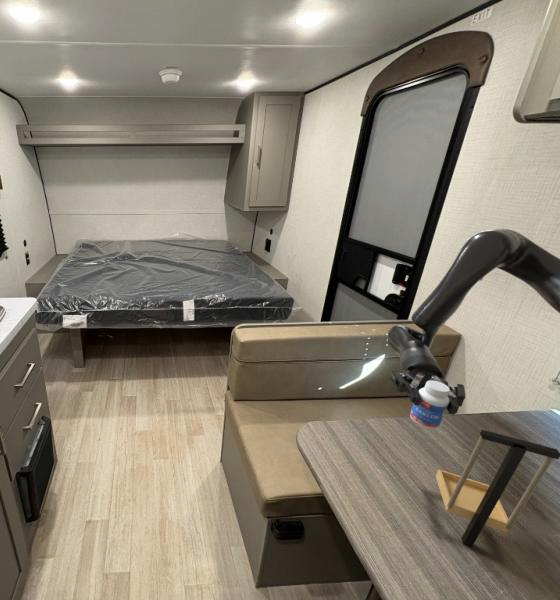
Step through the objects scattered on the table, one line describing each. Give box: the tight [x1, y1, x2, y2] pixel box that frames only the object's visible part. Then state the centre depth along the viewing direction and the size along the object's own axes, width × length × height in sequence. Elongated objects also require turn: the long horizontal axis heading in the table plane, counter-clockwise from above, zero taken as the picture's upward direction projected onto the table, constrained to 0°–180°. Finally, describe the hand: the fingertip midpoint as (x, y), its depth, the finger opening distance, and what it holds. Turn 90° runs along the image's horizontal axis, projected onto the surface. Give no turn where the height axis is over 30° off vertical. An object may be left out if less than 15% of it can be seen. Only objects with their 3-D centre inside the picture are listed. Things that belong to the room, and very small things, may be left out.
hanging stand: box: [435, 429, 560, 548], centre depth 57 cm, size 9×9×25 cm
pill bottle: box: [409, 380, 450, 429], centre depth 71 cm, size 6×5×10 cm
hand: (435, 406), depth 68 cm, fingers closed on pill bottle, 5 cm apart
